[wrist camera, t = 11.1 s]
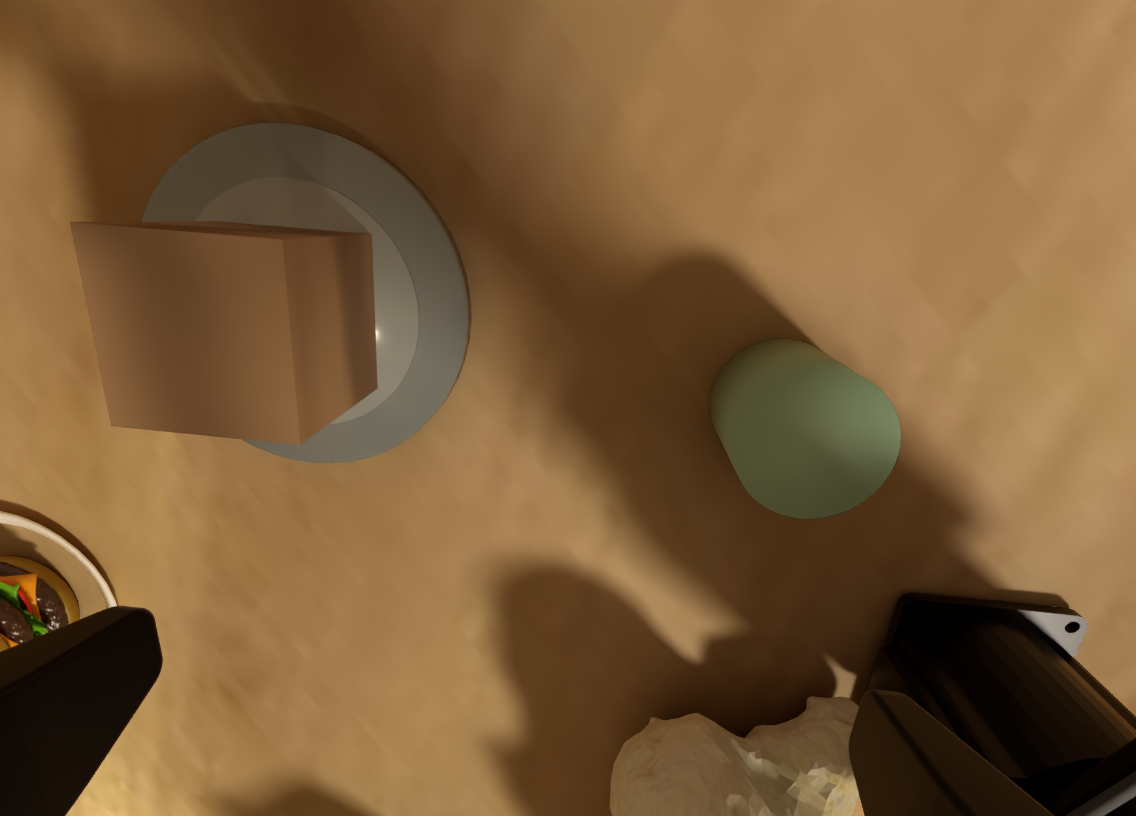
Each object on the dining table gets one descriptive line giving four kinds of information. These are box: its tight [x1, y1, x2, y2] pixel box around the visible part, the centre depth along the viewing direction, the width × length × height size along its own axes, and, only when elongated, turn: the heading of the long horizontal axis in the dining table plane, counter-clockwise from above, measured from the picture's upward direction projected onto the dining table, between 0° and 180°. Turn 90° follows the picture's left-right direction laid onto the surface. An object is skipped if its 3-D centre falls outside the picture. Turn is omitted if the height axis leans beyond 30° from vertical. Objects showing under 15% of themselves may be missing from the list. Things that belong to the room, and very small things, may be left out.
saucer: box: [141, 123, 471, 463], centre depth 19 cm, size 11×11×1 cm
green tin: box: [710, 339, 901, 519], centre depth 17 cm, size 4×4×4 cm
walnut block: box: [70, 221, 378, 445], centre depth 16 cm, size 5×5×5 cm
